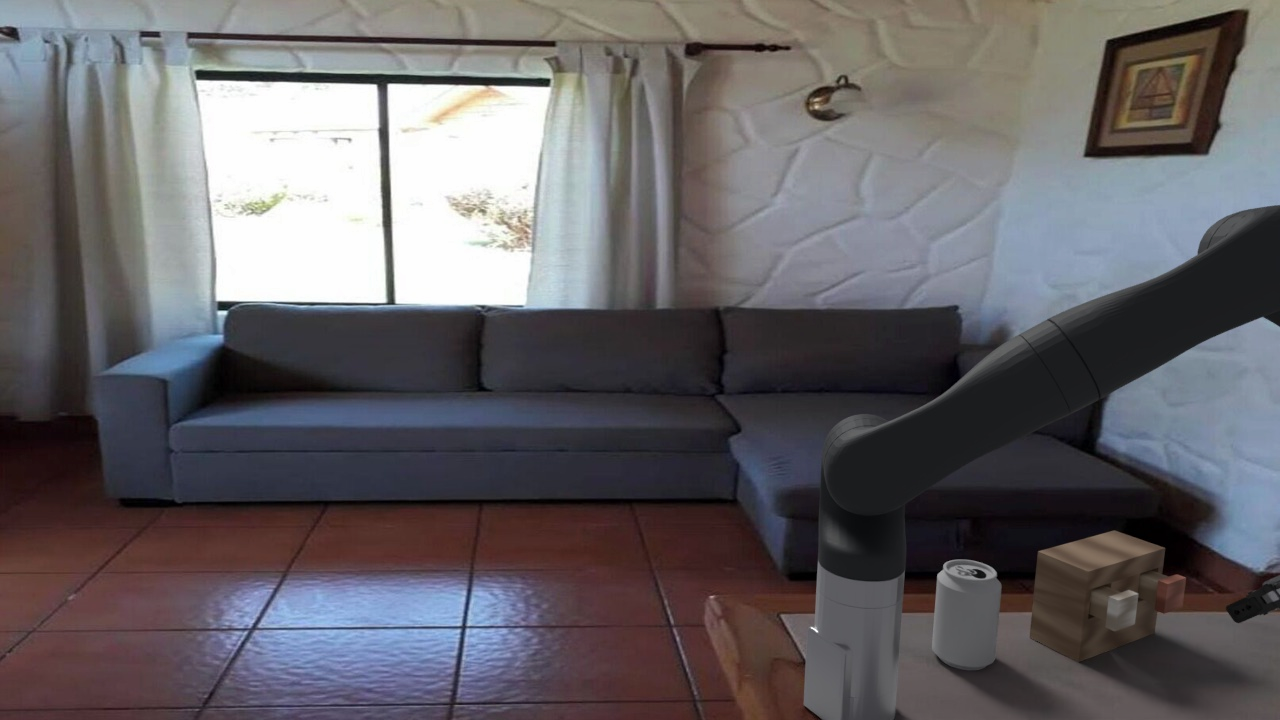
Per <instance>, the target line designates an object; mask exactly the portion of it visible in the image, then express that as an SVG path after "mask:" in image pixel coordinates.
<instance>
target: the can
mask: <svg viewBox="0 0 1280 720" xmlns="http://www.w3.org/2000/svg"><path fill="white" fill-rule="evenodd" d="M936 575H937V576H936V589H935V601H934V602H935V603H934V614H933V626H932V627H933V629H932V639H931V640H932V642H931V650H932V651H933V653H934V654H935V655H936V656H937V657H938V658H939V659H940V661H941V662H943V663H945V664H946V665H948V666H950V667H952V668H956V669H959V670H965V671H978V670H982V669H984V668H986V667H987V666H989V665H991V664H993V663H994V661H995V660H996V653H997V652H996V651H997V642H998V630H999V621H1000V620H999V618H1000V609H1001V600H1002V599H1001V597H1002V583H1001V582H1000V581H999V579H998V578H997V577H998V572H997V571H996V570H995V569H994V568H993V567H992V566H990V565H988V564H986V563H983V562H982V561H981V562H979V561H976V560H971V559H952V560H949V561H946V562H944V564H943V566H942V570H941V571H940V572H938V573H937V574H936Z"/></svg>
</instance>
